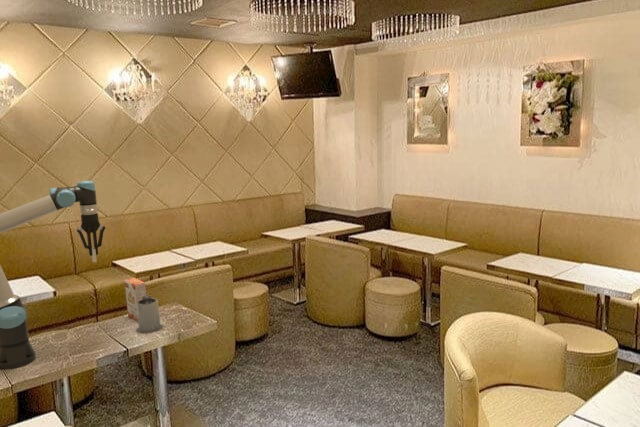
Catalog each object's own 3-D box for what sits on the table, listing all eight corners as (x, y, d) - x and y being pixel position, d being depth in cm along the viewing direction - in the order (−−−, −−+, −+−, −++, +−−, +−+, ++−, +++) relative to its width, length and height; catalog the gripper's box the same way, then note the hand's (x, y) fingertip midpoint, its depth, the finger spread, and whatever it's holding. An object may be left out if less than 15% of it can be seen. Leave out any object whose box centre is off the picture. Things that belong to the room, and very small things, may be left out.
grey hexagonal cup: (142, 333, 256) (139, 306, 254) (136, 327, 264) (134, 301, 262) (162, 328, 261) (160, 301, 259) (156, 323, 269) (153, 296, 267)
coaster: (140, 337, 254) (140, 335, 254) (132, 329, 265) (132, 327, 264) (166, 330, 261) (166, 329, 261) (158, 323, 272) (158, 321, 272)
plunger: (143, 323, 257) (141, 299, 255) (139, 319, 263) (137, 296, 261) (158, 319, 261) (155, 296, 259) (153, 315, 267) (151, 293, 265)
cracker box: (127, 317, 282) (123, 279, 279) (138, 314, 286) (134, 277, 283) (138, 323, 272) (134, 284, 269) (149, 320, 276) (145, 282, 273)
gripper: (75, 216, 244) (81, 265, 248) (105, 212, 252) (110, 260, 255) (73, 214, 251) (78, 262, 254) (101, 211, 258) (106, 258, 262)
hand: (94, 261), depth 255 cm, fingers closed
